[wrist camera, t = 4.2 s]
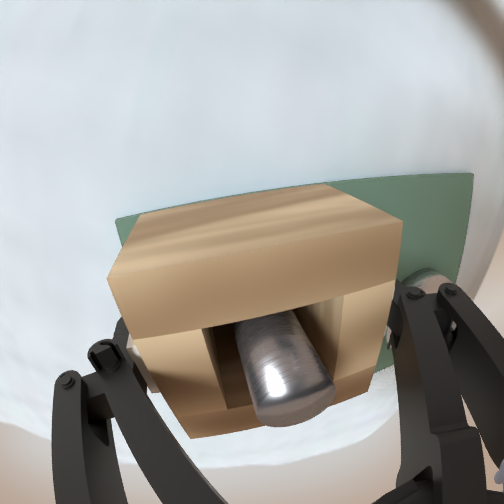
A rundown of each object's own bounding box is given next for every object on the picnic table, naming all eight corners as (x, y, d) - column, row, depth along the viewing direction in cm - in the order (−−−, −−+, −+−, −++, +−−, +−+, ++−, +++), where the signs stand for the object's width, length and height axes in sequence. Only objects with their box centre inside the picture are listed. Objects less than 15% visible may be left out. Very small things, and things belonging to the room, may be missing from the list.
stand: (168, 218, 14) (143, 353, 5) (293, 196, 15) (416, 286, 6) (194, 321, 17) (211, 465, 8) (298, 298, 18) (372, 418, 9)
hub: (386, 280, 20) (453, 342, 13) (448, 259, 21) (509, 302, 14) (372, 351, 23) (416, 411, 16) (430, 325, 24) (475, 371, 17)
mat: (116, 218, 14) (114, 221, 14) (470, 172, 18) (473, 173, 18) (196, 419, 23) (196, 422, 22) (433, 341, 27) (435, 343, 26)
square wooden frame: (140, 214, 12) (106, 278, 7) (324, 183, 13) (403, 221, 8) (184, 355, 16) (190, 438, 11) (323, 323, 17) (367, 391, 12)
